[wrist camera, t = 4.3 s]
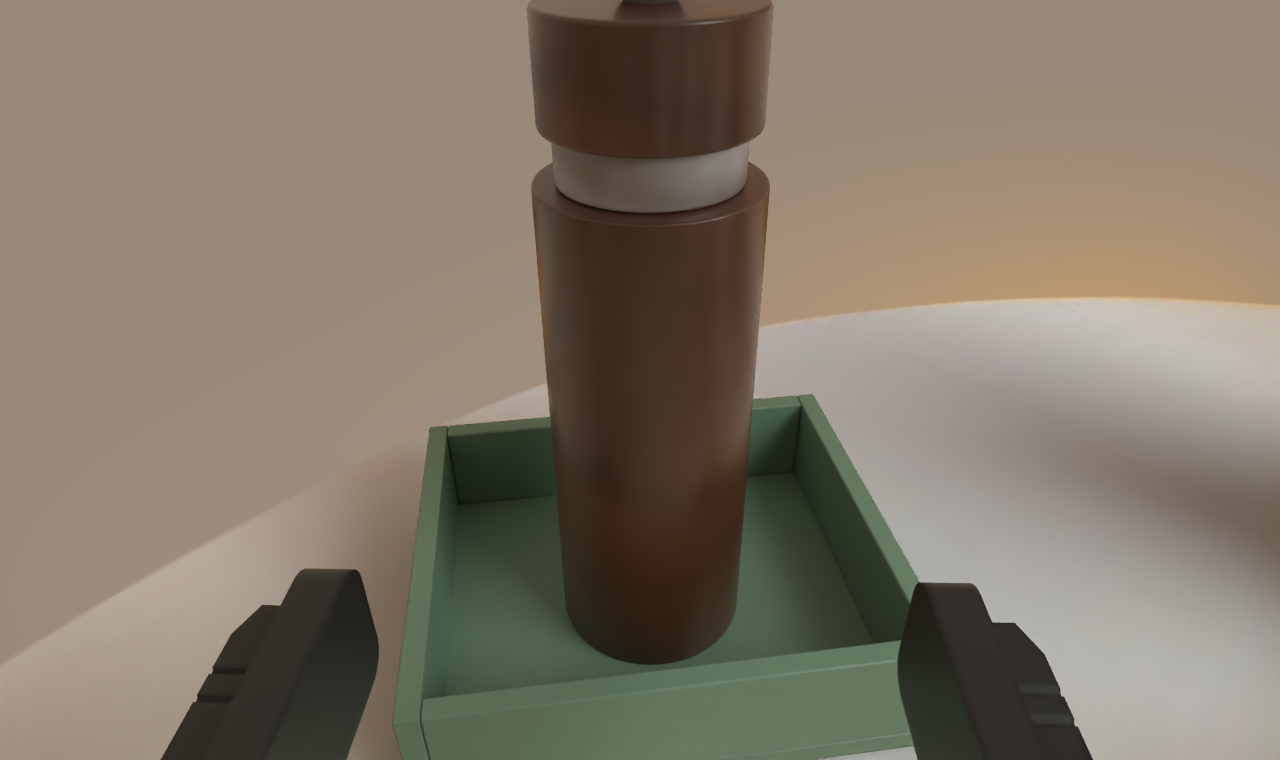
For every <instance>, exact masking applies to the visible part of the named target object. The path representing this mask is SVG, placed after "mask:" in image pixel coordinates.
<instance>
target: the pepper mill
mask: <svg viewBox="0 0 1280 760" xmlns="http://www.w3.org/2000/svg"><path fill="white" fill-rule="evenodd" d="M773 7H774V6H773V3H772V1H771V0H532V1H530V2H529V3H528V7H527V18H528V31H529V45H530V58H531V71H532V84H533V96H534V109H535V123H536V127H537V130H538V132H539V133H540V134H541V136H542V137H544V138H545V139H546V140H548V141H550V142H551V144H552V159H553V163H551V164H549V165H547V166H546V167H544V168H543V169H542V170H540V171H539V172H538V173H537V174H536V176H535V177H534V179H533V181H532V185H531V191H532V192H531V193H532V205H533V216H534V229H535V241H536V253H537V264H538V277H539V289H540V301H541V313H542V325H543V337H544V349H545V361H546V373H547V386H548V398H549V410H550V422H551V434H552V446H553V458H554V470H555V482H556V494H557V506H558V518H559V530H560V542H561V554H562V566H563V578H564V591H565V603H566V609H567V613H568V616H569V619H570V621H571V623H572V625H573V626H574V628H575V629H576V631H577V632H578V633H579V635H580V636H581V637H582V638H583V639H584V640H585V641H586V642H587V643H588V644H590V645H591V646H592V647H594V648H595V649H597V650H598V651H600V652H602V653H604V654H606V655H608V656H610V657H613V658H615V659H618V660H621V661H625V662H629V663H635V664H645V665H658V664H668V663H673V662H678V661H681V660H685V659H688V658H690V657H693V656H695V655H697V654H699V653H701V652H703V651H704V650H706V649H708V648H709V647H710V646H712V645H713V644H714V643H716V642H717V641H718V640H719V639H720V638H721V637H722V635H723V634H724V633H725V632H726V630H727V629H728V627H729V626H730V624H731V622H732V620H733V618H734V614H735V611H736V605H737V594H738V581H739V569H740V556H741V544H742V531H743V519H744V506H745V493H746V481H747V468H748V456H749V443H750V430H751V418H752V405H753V393H754V380H755V367H756V355H757V342H758V330H759V316H760V304H761V291H762V279H763V266H764V253H765V241H766V228H767V216H768V203H769V191H770V184H769V180H768V178H767V176H766V174H765V173H764V172H763V171H762V170H761V169H760V168H758V167H756V166H755V165H754V164H752V163H750V162H748V155H749V141H751V140H752V139H754V138H756V137H757V136H758V135H759V134H760V133H761V132H762V130H763V128H764V125H765V118H766V104H767V90H768V77H769V63H770V50H771V35H772V22H773Z"/></svg>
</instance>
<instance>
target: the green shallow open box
mask: <svg viewBox="0 0 1280 760" xmlns="http://www.w3.org/2000/svg"><path fill="white" fill-rule="evenodd" d="M917 583H919V580H918V578H917V576H916V575H915V573H914V571H913V569H912V568H911V566H910V564H909V562H908V561H907V559H906V557H905V555H904V554H903V552H902V550H901V548H900V546H899V545H898V543H897V541H896V539H895V538H894V536H893V534H892V532H891V531H890V529H889V527H888V525H887V524H886V522H885V520H884V518H883V517H882V515H881V513H880V511H879V510H878V508H877V506H876V504H875V503H874V501H873V499H872V497H871V496H870V494H869V492H868V490H867V489H866V487H865V485H864V483H863V482H862V480H861V478H860V476H859V474H858V473H857V471H856V469H855V467H854V466H853V464H852V462H851V460H850V459H849V457H848V455H847V453H846V452H845V450H844V448H843V446H842V445H841V443H840V441H839V439H838V438H837V436H836V434H835V432H834V431H833V429H832V427H831V425H830V424H829V422H828V420H827V418H826V417H825V415H824V413H823V411H822V409H821V408H820V406H819V404H818V402H817V401H816V399H815V397H814V395H812V394H810V395H799V396H788V397H776V398H765V399H753V405H752V418H751V430H750V443H749V456H748V468H747V481H746V493H745V506H744V519H743V531H742V544H741V556H740V569H739V581H738V594H737V605H736V611H735V614H734V618H733V620H732V622H731V624H730V626H729V627H728V629H727V630H726V632H725V633H724V634H723V635H722V637H721V638H720V639H719V640H718V641H717V642H716V643H714V644H713V645H712V646H710V647H709V648H708V649H706V650H704V651H703V652H701V653H699V654H697V655H695V656H693V657H690V658H688V659H685V660H681V661H678V662H673V663H668V664H658V665H645V664H635V663H629V662H625V661H621V660H618V659H615V658H613V657H610V656H608V655H606V654H604V653H602V652H600V651H598V650H597V649H595V648H594V647H592V646H591V645H590V644H588V643H587V642H586V641H585V640H584V639H583V638H582V637H581V636H580V635H579V633H578V632H577V631H576V629H575V628H574V626H573V625H572V623H571V621H570V619H569V616H568V613H567V609H566V603H565V591H564V578H563V566H562V554H561V542H560V530H559V518H558V506H557V494H556V482H555V470H554V458H553V446H552V434H551V422H550V417H546V418H535V419H523V420H512V421H500V422H489V423H477V424H466V425H454V426H449V427H447V426H439V427H430V429H429V437H428V445H427V453H426V461H425V469H424V476H423V484H422V492H421V500H420V508H419V516H418V524H417V532H416V539H415V547H414V555H413V563H412V571H411V579H410V587H409V594H408V602H407V610H406V618H405V626H404V634H403V642H402V649H401V657H400V665H399V673H398V681H397V689H396V697H395V704H394V712H393V720H392V726H393V729H394V733H395V736H396V740H397V743H398V747H399V751H400V754H401V758H402V760H812V759H820V758H827V757H834V756H841V755H849V754H856V753H863V752H870V751H878V750H885V749H892V748H899V747H906V746H914V744H913V740H912V737H911V733H910V729H909V726H908V722H907V718H906V714H905V711H904V707H903V703H902V700H901V695H900V690H899V683H898V670H897V664H898V653H899V648H900V644H901V640H902V636H903V631H904V627H905V623H906V619H907V615H908V611H909V607H910V603H911V599H912V595H913V591H914V588H915V586H916V584H917Z"/></svg>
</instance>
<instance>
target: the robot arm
mask: <svg viewBox="0 0 1280 760" xmlns="http://www.w3.org/2000/svg"><path fill="white" fill-rule="evenodd" d="M378 656H379V646H378V638H377V634H376V630H375V626H374V623H373V619H372V615H371V611H370V608H369V604H368V600H367V596H366V593H365V589H364V585H363V582H362V578H361V575H360V574H359V572H358V571H357V570H350V569H303V570H301V571H300V572H299V573H298V574H297V576H296V577H295V579H294V581H293V583H292V584H291V586H290V588H289V590H288V592H287V594H286V596H285V598H284V600H283V602H282V604H281V606H274V605H262V606H261V607H260V608H259V609H258V610H256V611H255V612H254V613H253V614H252V615H251V616H250V617H249V618H248V619H247V620H246V621H245V622H244V623H243V624H242V625H241V626H239V627H238V628H237V629H236V630H235V631H234V632H233V633H232V634H231V636H230V637H229V639H228V641H227V643H226V645H225V646H224V648H223V650H222V652H221V653H220V655H219V657H218V659H217V661H216V662H215V664H214V666H213V672H212V674H209V675H208V677H207V678H206V680H205V682H204V684H203V685H202V687H201V689H200V691H199V693H198V694H197V701H196V702H193V703H192V705H191V707H190V709H189V710H188V712H187V714H186V716H185V717H184V719H183V721H182V723H181V725H180V726H179V728H178V730H177V732H176V733H175V735H174V737H173V739H172V741H171V742H170V744H169V746H168V748H167V749H166V751H165V753H164V755H163V757H162V758H161V760H346V759H347V756H348V753H349V750H350V747H351V745H352V742H353V739H354V736H355V734H356V731H357V728H358V725H359V722H360V720H361V717H362V714H363V711H364V708H365V706H366V703H367V700H368V697H369V694H370V692H371V689H372V686H373V683H374V680H375V676H376V672H377V666H378ZM897 670H898V683H899V690H900V695H901V700H902V703H903V707H904V711H905V714H906V718H907V722H908V726H909V729H910V733H911V737H912V740H913V744H914V748H915V752H916V755H917V759H918V760H1093V759H1092V757H1091V754H1090V752H1089V750H1088V748H1087V746H1086V744H1085V741H1084V739H1083V737H1082V735H1081V733H1080V731H1079V728H1078V727H1075V725H1074V718H1073V715H1072V713H1071V711H1070V709H1069V707H1068V705H1067V702H1066V700H1065V698H1064V697H1062V696H1061V694H1060V690H1061V689H1060V687H1059V685H1058V683H1057V681H1056V679H1055V676H1054V674H1053V672H1052V670H1051V668H1050V666H1049V663H1048V661H1047V659H1046V657H1045V655H1044V653H1043V652H1042V651H1041V650H1040V649H1039V648H1038V647H1037V646H1036V645H1035V644H1034V643H1033V642H1032V641H1031V640H1030V639H1029V638H1028V636H1027V635H1026V634H1025V633H1024V632H1023V631H1022V630H1021V629H1020V628H1019V627H1018V626H1017V625H1016V624H1015V623H992V621H991V619H990V616H989V614H988V611H987V609H986V607H985V604H984V602H983V599H982V597H981V595H980V593H979V591H978V589H977V588H976V586H975V585H973V584H970V583H922V582H919V583H917V584H916V586H915V588H914V591H913V595H912V599H911V603H910V607H909V611H908V615H907V619H906V623H905V627H904V631H903V636H902V640H901V644H900V648H899V653H898V664H897Z"/></svg>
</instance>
